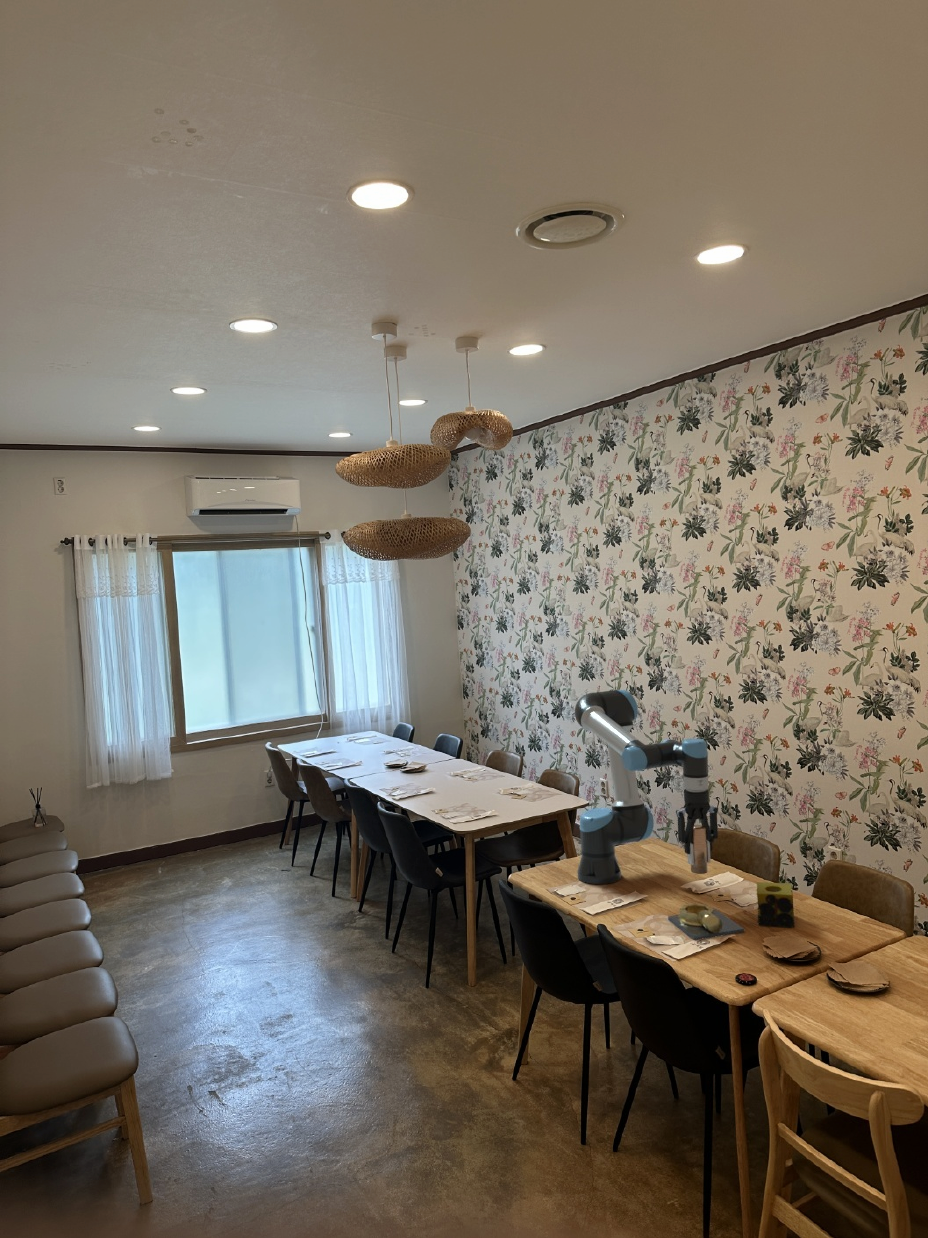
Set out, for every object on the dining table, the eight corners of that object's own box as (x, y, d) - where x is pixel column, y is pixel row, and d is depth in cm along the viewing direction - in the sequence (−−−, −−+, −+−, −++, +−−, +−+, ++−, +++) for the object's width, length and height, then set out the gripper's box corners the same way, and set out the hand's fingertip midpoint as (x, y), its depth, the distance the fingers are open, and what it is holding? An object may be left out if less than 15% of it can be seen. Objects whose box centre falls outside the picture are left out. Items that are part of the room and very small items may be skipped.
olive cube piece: (793, 915, 254) (792, 883, 254) (795, 929, 245) (793, 895, 245) (758, 913, 258) (756, 881, 257) (758, 926, 248) (756, 892, 248)
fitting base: (667, 919, 257) (666, 901, 257) (715, 911, 261) (714, 894, 260) (693, 940, 241) (692, 921, 241) (744, 932, 245) (743, 913, 244)
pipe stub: (688, 869, 267) (686, 825, 266) (702, 867, 268) (701, 824, 267) (695, 874, 262) (694, 830, 261) (710, 872, 263) (709, 828, 262)
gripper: (675, 795, 258) (678, 870, 259) (728, 788, 262) (731, 862, 263) (664, 789, 265) (667, 862, 266) (716, 783, 269) (718, 855, 270)
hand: (698, 862), depth 265 cm, fingers closed on pipe stub, 5 cm apart
